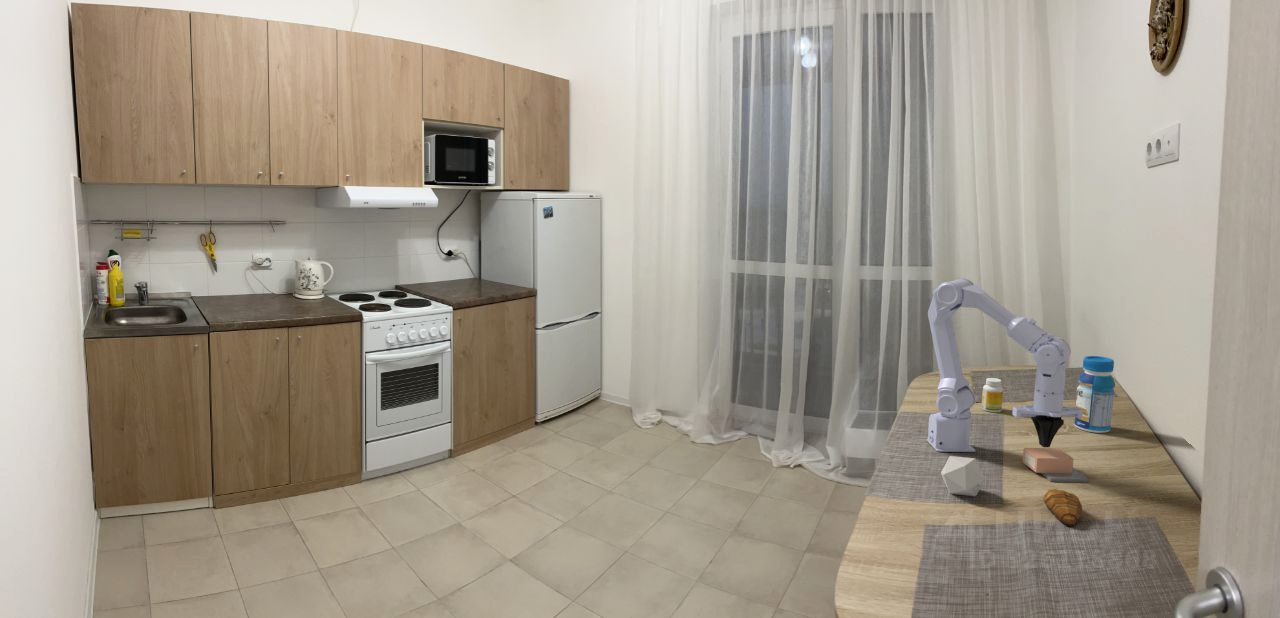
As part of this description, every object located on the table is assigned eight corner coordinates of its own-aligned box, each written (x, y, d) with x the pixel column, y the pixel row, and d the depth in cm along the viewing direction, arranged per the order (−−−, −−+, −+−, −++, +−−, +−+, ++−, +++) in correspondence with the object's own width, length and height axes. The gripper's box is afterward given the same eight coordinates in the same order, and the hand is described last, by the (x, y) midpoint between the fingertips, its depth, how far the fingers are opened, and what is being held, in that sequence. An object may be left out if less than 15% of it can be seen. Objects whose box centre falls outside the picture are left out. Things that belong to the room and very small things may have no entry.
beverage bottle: (1106, 436, 165) (1114, 364, 162) (1069, 428, 171) (1075, 359, 168) (1114, 428, 170) (1121, 358, 167) (1078, 420, 177) (1084, 353, 173)
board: (1050, 481, 141) (1050, 478, 141) (1023, 459, 153) (1024, 456, 152) (1087, 482, 140) (1088, 478, 140) (1058, 460, 152) (1058, 457, 151)
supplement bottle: (977, 408, 190) (979, 378, 188) (992, 406, 191) (994, 376, 189) (990, 413, 185) (992, 382, 183) (1005, 411, 186) (1008, 381, 184)
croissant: (1091, 532, 120) (1093, 508, 119) (1050, 526, 123) (1052, 503, 122) (1071, 500, 133) (1073, 478, 132) (1035, 495, 135) (1037, 474, 134)
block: (1037, 458, 143) (1073, 458, 142) (1023, 447, 149) (1058, 448, 148) (1036, 472, 144) (1072, 472, 143) (1022, 461, 149) (1057, 462, 149)
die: (971, 508, 131) (998, 471, 131) (934, 482, 135) (959, 446, 134) (965, 504, 139) (990, 469, 139) (929, 479, 142) (954, 446, 142)
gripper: (1024, 395, 140) (1020, 452, 142) (1093, 396, 138) (1087, 452, 141) (1009, 386, 147) (1005, 440, 149) (1074, 386, 145) (1069, 441, 148)
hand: (1044, 445), depth 145 cm, fingers closed
